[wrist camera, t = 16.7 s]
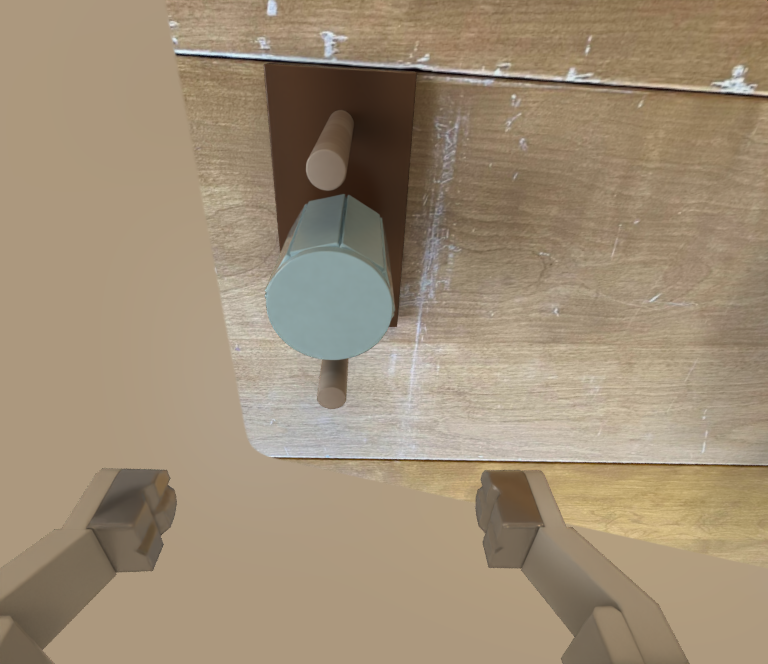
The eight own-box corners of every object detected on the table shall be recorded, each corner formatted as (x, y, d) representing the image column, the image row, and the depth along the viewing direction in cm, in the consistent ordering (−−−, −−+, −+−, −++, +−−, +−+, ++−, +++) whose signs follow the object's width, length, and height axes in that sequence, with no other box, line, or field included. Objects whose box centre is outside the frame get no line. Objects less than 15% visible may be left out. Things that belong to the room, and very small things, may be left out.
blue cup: (278, 207, 25) (246, 265, 19) (375, 187, 25) (379, 238, 18) (307, 293, 28) (289, 369, 22) (394, 276, 28) (402, 349, 21)
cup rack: (289, 315, 36) (254, 436, 25) (268, 63, 26) (194, 76, 15) (395, 317, 37) (409, 437, 26) (414, 71, 27) (449, 89, 16)
